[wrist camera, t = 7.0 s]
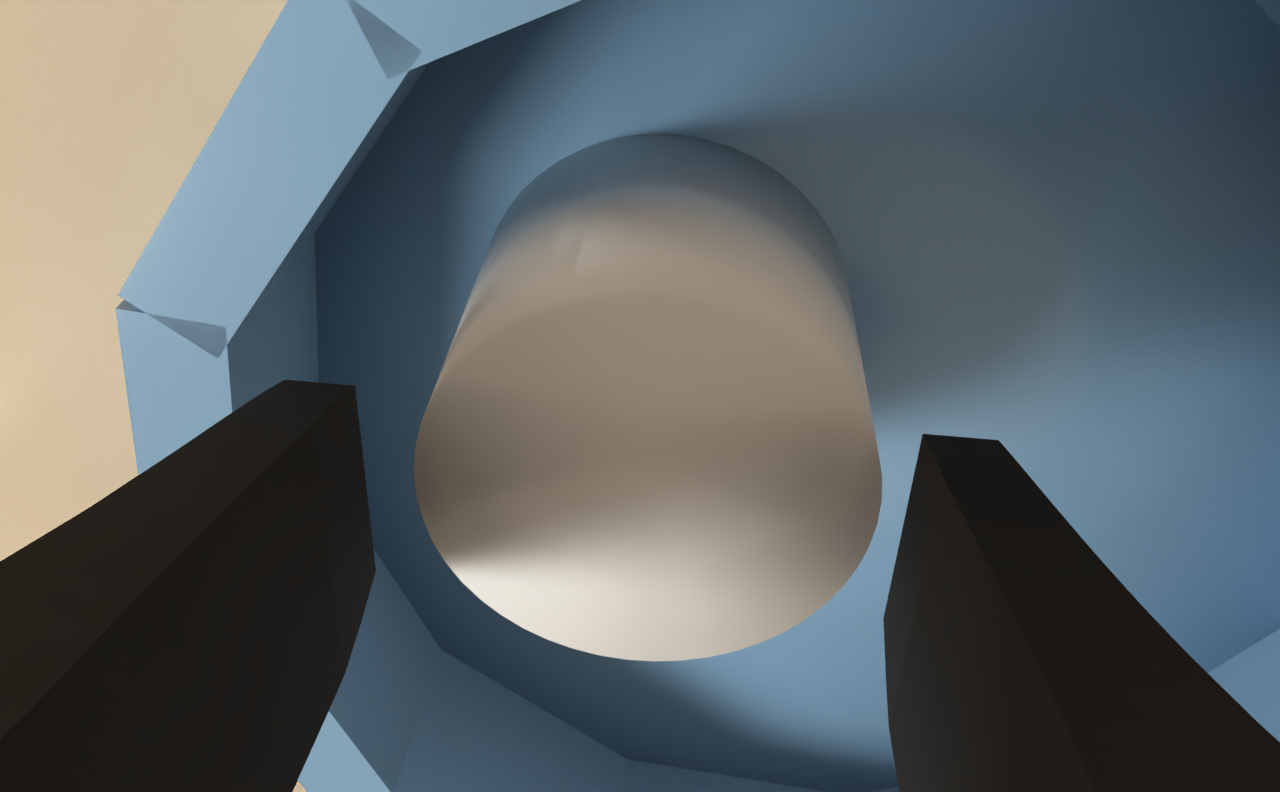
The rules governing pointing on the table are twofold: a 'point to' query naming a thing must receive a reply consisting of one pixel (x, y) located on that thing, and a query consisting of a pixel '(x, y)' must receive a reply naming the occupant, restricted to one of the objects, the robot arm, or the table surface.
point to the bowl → (881, 301)
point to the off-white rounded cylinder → (654, 408)
